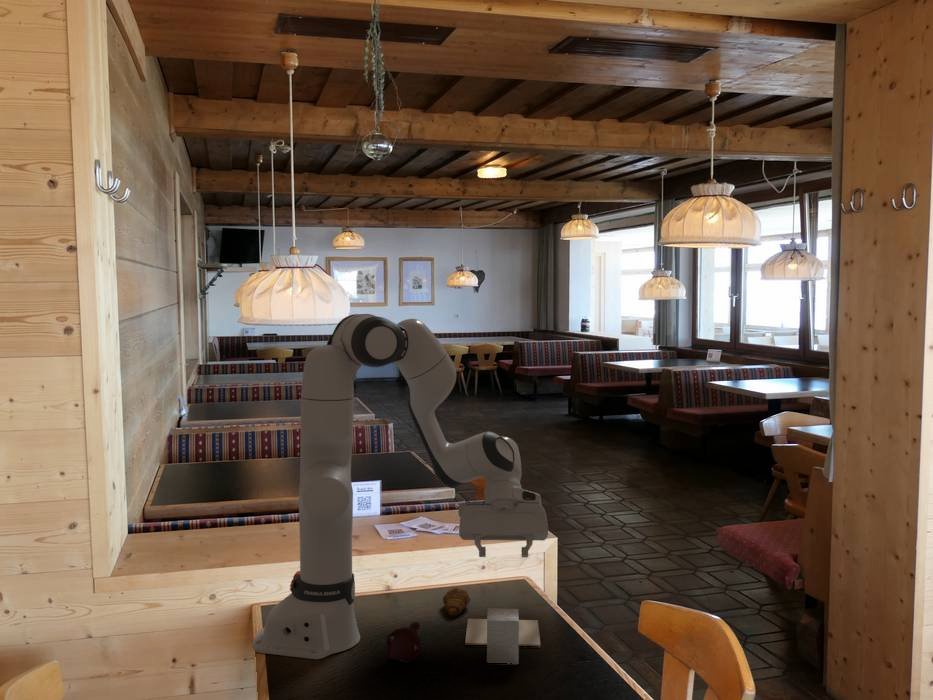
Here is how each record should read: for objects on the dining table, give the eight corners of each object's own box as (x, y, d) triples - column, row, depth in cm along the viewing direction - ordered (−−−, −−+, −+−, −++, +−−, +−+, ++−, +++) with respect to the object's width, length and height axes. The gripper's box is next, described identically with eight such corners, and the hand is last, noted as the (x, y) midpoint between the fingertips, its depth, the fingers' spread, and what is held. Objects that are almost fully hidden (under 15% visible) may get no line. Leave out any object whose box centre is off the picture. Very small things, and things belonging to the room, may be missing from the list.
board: (465, 645, 169) (465, 643, 169) (467, 621, 182) (467, 618, 182) (540, 647, 169) (540, 644, 169) (537, 622, 182) (537, 620, 182)
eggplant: (413, 647, 154) (435, 624, 168) (378, 634, 156) (403, 611, 170) (403, 681, 154) (426, 655, 169) (369, 667, 156) (395, 642, 170)
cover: (486, 663, 161) (487, 620, 160) (487, 650, 167) (487, 608, 167) (518, 664, 161) (518, 621, 160) (517, 650, 167) (518, 608, 166)
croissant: (467, 620, 183) (467, 598, 183) (438, 618, 184) (438, 597, 184) (473, 598, 197) (473, 578, 196) (446, 597, 198) (446, 577, 197)
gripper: (458, 494, 183) (456, 549, 174) (547, 494, 182) (549, 549, 173) (459, 508, 188) (457, 562, 179) (546, 508, 187) (548, 563, 178)
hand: (503, 556), depth 176 cm, fingers open, 8 cm apart
